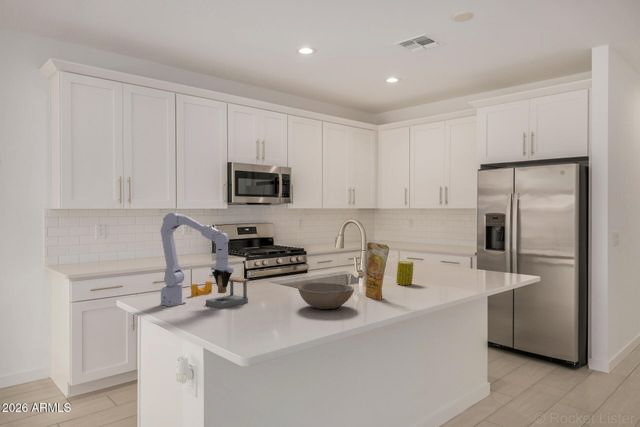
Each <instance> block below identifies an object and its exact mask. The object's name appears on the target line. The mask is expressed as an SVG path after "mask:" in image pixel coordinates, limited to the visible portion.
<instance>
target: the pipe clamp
mask: <svg viewBox="0 0 640 427" xmlns="http://www.w3.org/2000/svg"><path fill="white" fill-rule="evenodd" d="M212 283H213V282H212V281H211V280H208V281H205V285H204V286H202V287H200V288H199V286H198V284H197V283H191V284H190V296H191V297H194V296H195V297H199V296H203V295H208V294H212V292H213V287H212V286H213V284H212Z"/></svg>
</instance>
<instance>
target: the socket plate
mask: <svg viewBox="0 0 640 427" xmlns="http://www.w3.org/2000/svg"><path fill="white" fill-rule="evenodd" d="M228 282H229V285H230V286H229V288H230V289H229V291H230V293H229V295H228V294H227V295H224V296H219V297H214V298H208V299H205V305H206V306H209V307H212V308H216V307H217V309H226V308H231V307H235V306H240V305H244V304H249V297H248V296H247V295H248V294H247V293H248V291H247V289H248V286H247V284H248V283H249V282H250V279H247V278H242V277H235V276H230V278H229V281H228ZM234 283H238V284H243V285H242V287H243V289H242V291H243V293H242V294H243V296H241V295H236V294H234Z"/></svg>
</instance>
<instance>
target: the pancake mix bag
mask: <svg viewBox="0 0 640 427" xmlns="http://www.w3.org/2000/svg"><path fill="white" fill-rule="evenodd" d="M389 251H390V247H389V246H388V245H387V244H381V243H377V242H370V241H369V242H367V243H366V266H365V267H366V268H365V269H366V277H365V281H366V282H365V296H366V297H368V298H370V297H371V298H370V299H373V300H375V299H376V301H383V293H382V292H383V284H384V277H385V270H386V266H387V260H388V255H389V253H390V252H389Z"/></svg>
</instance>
